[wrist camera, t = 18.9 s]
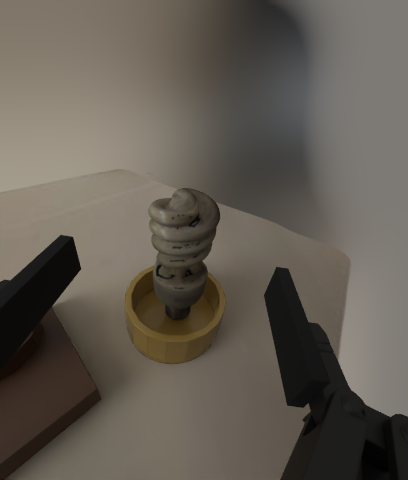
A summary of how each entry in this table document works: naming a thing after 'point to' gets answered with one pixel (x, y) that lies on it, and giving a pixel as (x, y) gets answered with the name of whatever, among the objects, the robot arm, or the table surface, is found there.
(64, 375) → the switch box
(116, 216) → the table surface
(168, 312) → the light bulb
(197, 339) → the lamp holder
